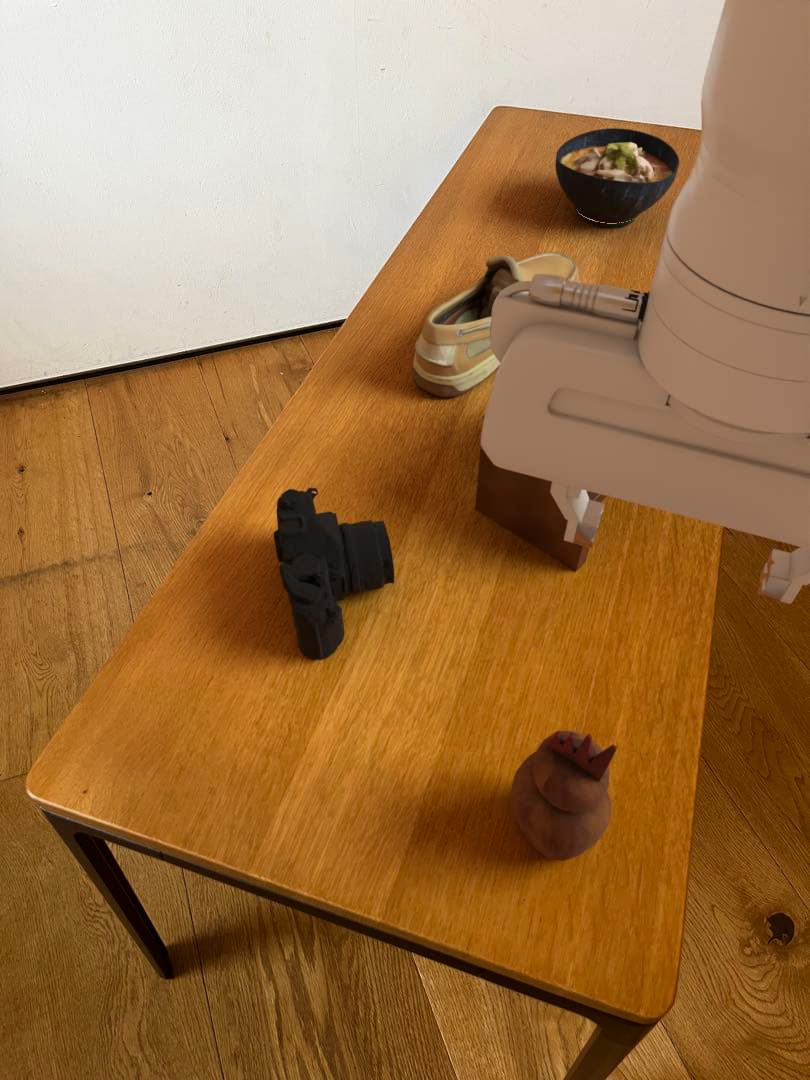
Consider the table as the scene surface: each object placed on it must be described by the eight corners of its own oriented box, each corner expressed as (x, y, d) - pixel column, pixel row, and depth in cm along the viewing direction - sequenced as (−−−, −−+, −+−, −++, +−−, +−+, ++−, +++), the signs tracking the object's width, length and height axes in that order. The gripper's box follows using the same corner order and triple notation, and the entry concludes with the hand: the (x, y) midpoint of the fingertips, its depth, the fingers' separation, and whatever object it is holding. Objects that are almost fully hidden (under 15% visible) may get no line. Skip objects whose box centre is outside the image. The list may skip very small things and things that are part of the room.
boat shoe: (596, 300, 102) (613, 217, 94) (475, 419, 87) (482, 333, 78) (527, 275, 106) (537, 194, 98) (399, 384, 91) (398, 299, 82)
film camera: (407, 648, 67) (406, 584, 60) (295, 668, 66) (281, 605, 59) (376, 520, 77) (372, 452, 70) (277, 535, 76) (263, 468, 69)
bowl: (530, 226, 115) (539, 156, 107) (573, 179, 125) (583, 112, 117) (644, 254, 109) (661, 183, 102) (679, 203, 119) (697, 134, 112)
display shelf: (674, 470, 81) (706, 376, 72) (576, 571, 72) (599, 480, 63) (576, 419, 86) (596, 327, 77) (474, 508, 78) (482, 416, 69)
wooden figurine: (613, 845, 56) (663, 751, 45) (548, 889, 54) (584, 801, 43) (554, 769, 60) (587, 663, 49) (492, 807, 58) (511, 707, 47)
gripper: (470, 307, 29) (455, 548, 39) (1105, 442, 24) (895, 678, 34) (518, 228, 33) (493, 467, 43) (1075, 330, 28) (894, 573, 38)
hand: (674, 561), depth 39 cm, fingers open, 8 cm apart
